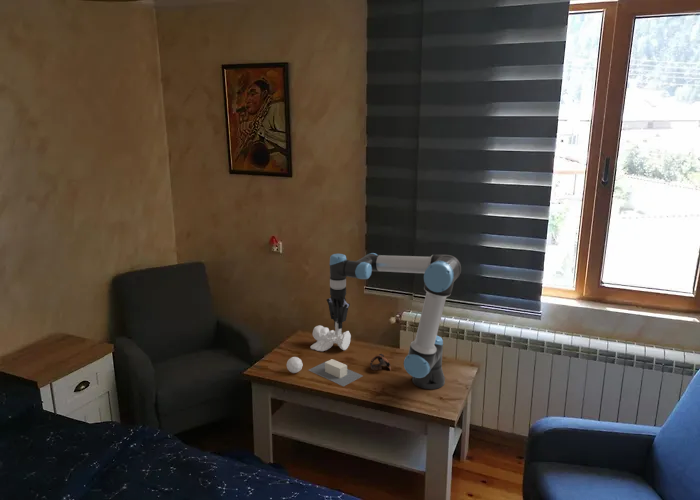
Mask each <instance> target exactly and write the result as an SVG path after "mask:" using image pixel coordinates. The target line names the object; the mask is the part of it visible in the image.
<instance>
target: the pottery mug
mask: <svg viewBox="0 0 700 500" xmlns="http://www.w3.org/2000/svg"><path fill="white" fill-rule="evenodd" d="M376 360H378V362H379V363H378V364H373V363H374V361H376ZM382 367H386V368H388V370H389V371H392V367H391V363H390V361H389V360H388V359H387V358H386V357H385V355H384V354H383V353H380V354H378V355H376V356H374V357H373V358H372V359H371V360H370V369H371V370H373V371H378V370H380V371H382Z"/></svg>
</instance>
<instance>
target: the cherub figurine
mask: <svg viewBox="0 0 700 500" xmlns="http://www.w3.org/2000/svg"><path fill="white" fill-rule="evenodd" d="M312 337H313V338H314V340H316V342H314V343H313V344H312V345H310V349H311V350H315V351H318V352H324V351H325V352H326V351H328V350H329V349H331V348H332V347H333V346H334V344H336V345H337V346H338V347H339V348H340V349H341V350H343V351H347V350H348V348H349V347H350V343H351V338H352V335H351V333H350V331H349V330H346V331H344V332H342V333H341V334H340V335H338V336H337V335H335V330H334V329H332V330H330V329H329V327H325V326H323V325H321V324H319V325H316V326H315V327H314V328H313V330H312Z"/></svg>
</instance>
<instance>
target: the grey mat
mask: <svg viewBox="0 0 700 500" xmlns="http://www.w3.org/2000/svg"><path fill="white" fill-rule="evenodd" d="M327 361H328V360H326V361H324V362H322V363H320V364H317V365H316V366H314V367H312V368H309V369H308V371H309V372H311V373H314V374H316V375H317V376H320V377H322V378H324V379H326V380H328V381H330V382H333V383H335V384H338V385H339V386H341V387H345V386H347V385H349V384H352V383H353V382H355V381H356V380H359V379H360V378H362V377H364V375H362V374H360V373H358V372H356V371H353V370H352V369H348V368H347V375H346V376H344V377H342V378H338V377H336V376H334V375H331V374H329V373H327V372H325V362H327Z"/></svg>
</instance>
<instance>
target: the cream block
mask: <svg viewBox="0 0 700 500" xmlns="http://www.w3.org/2000/svg"><path fill="white" fill-rule="evenodd" d="M326 361H327V362H326ZM326 361H324V362H325V372H327V373H329V374H331V375H334V376H336V377H338V378H342V377H344V376H346V375H347V369H348V364H345V363H342V362H340V361H338V360H336V359H332V358H331V359H330V360H326Z"/></svg>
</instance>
